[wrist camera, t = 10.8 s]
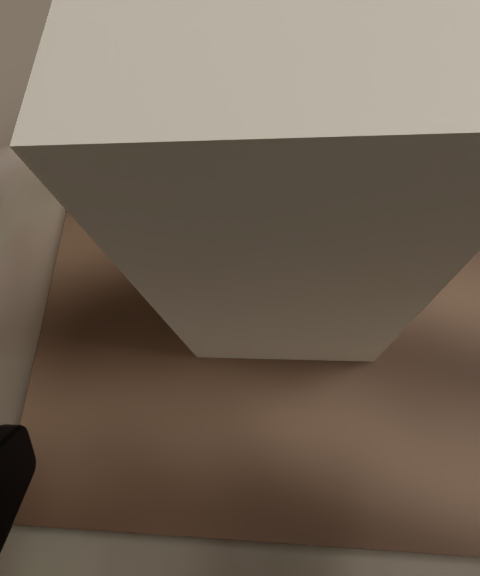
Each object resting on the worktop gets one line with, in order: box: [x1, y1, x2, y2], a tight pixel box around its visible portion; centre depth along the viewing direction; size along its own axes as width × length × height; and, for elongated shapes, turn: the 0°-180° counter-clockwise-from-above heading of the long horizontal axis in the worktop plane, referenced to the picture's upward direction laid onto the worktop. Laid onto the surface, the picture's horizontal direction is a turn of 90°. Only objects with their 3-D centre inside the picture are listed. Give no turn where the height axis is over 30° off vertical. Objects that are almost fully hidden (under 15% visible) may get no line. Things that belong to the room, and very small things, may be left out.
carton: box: [10, 0, 480, 362], centre depth 10 cm, size 4×6×11 cm
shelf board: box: [13, 211, 480, 557], centre depth 15 cm, size 12×18×1 cm
